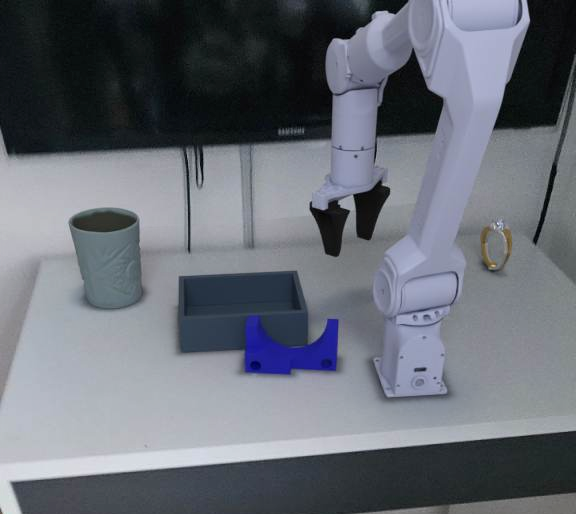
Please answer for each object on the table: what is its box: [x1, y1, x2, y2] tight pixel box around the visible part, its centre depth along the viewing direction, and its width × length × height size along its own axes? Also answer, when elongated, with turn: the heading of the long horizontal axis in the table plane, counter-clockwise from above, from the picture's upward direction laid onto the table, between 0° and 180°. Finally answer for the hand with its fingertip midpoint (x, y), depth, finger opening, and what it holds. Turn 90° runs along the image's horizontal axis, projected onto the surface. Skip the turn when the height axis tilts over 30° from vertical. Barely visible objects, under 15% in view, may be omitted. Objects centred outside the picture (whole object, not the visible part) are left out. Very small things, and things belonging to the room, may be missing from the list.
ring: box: [480, 218, 513, 271], centre depth 123 cm, size 7×3×8 cm, turn 16°
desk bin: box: [177, 270, 309, 353], centre depth 110 cm, size 14×18×5 cm
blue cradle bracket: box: [244, 315, 340, 375], centre depth 101 cm, size 12×4×6 cm, turn 84°
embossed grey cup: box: [68, 206, 143, 310], centre depth 115 cm, size 10×10×12 cm
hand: (348, 246), depth 109 cm, fingers open, 7 cm apart
